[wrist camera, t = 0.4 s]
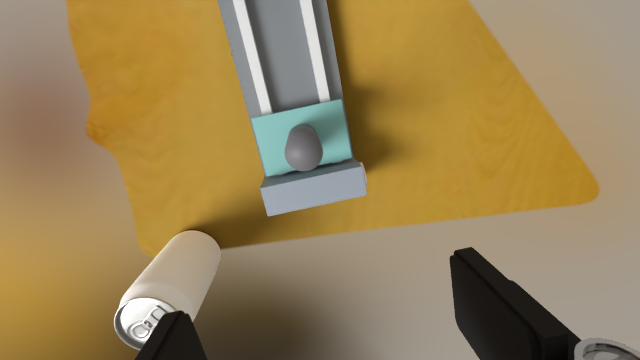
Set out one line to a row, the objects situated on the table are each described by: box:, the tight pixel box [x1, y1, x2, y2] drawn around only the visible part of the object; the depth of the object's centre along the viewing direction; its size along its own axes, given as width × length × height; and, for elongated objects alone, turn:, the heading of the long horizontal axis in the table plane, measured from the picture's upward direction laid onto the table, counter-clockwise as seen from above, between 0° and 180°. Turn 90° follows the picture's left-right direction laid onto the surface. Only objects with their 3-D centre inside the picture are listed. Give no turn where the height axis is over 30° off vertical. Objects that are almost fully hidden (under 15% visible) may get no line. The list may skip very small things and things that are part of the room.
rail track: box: [218, 0, 367, 216], centre depth 29 cm, size 24×10×6 cm, turn 12°
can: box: [114, 230, 221, 350], centre depth 31 cm, size 6×6×12 cm
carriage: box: [251, 99, 352, 176], centre depth 27 cm, size 6×9×8 cm, turn 102°
